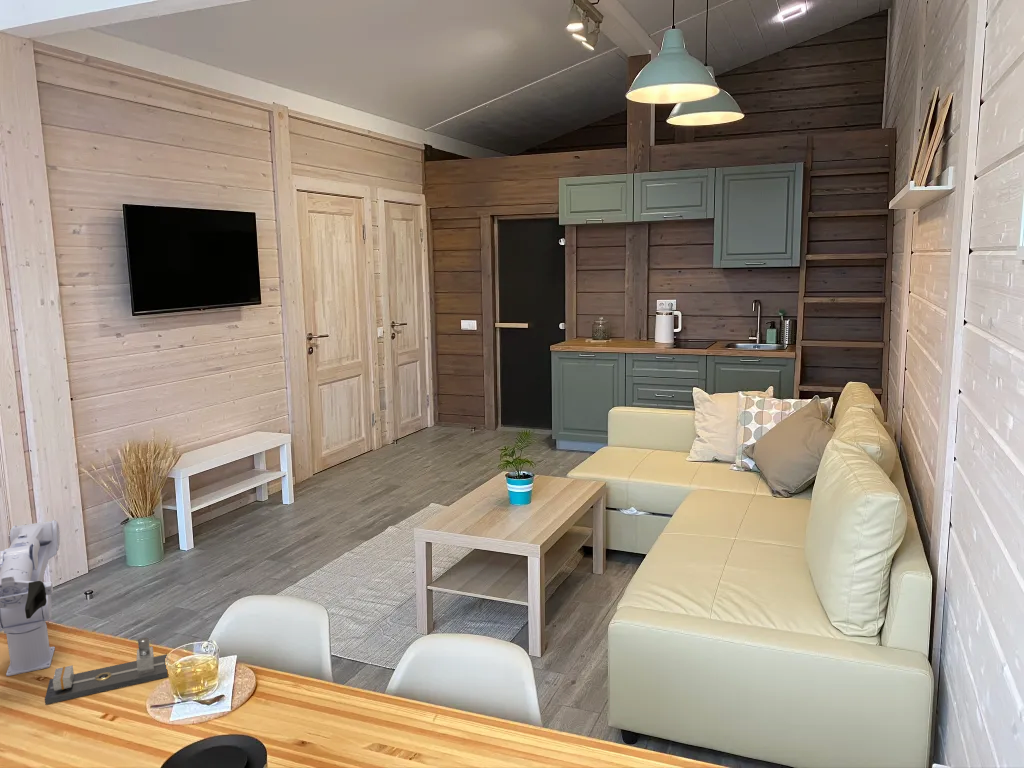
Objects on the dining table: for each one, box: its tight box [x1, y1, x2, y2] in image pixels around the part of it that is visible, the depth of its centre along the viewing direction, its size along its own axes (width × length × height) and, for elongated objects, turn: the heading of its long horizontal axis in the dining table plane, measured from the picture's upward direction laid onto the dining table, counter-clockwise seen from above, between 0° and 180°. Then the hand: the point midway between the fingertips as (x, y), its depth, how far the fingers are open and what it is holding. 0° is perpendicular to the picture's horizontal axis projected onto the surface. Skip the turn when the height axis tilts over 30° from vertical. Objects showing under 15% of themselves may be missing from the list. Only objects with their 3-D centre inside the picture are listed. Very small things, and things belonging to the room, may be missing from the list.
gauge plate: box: [44, 637, 169, 706], centre depth 157 cm, size 8×22×7 cm, turn 115°
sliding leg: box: [52, 664, 75, 691], centre depth 154 cm, size 5×3×2 cm, turn 25°
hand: (4, 618), depth 145 cm, fingers open, 7 cm apart
